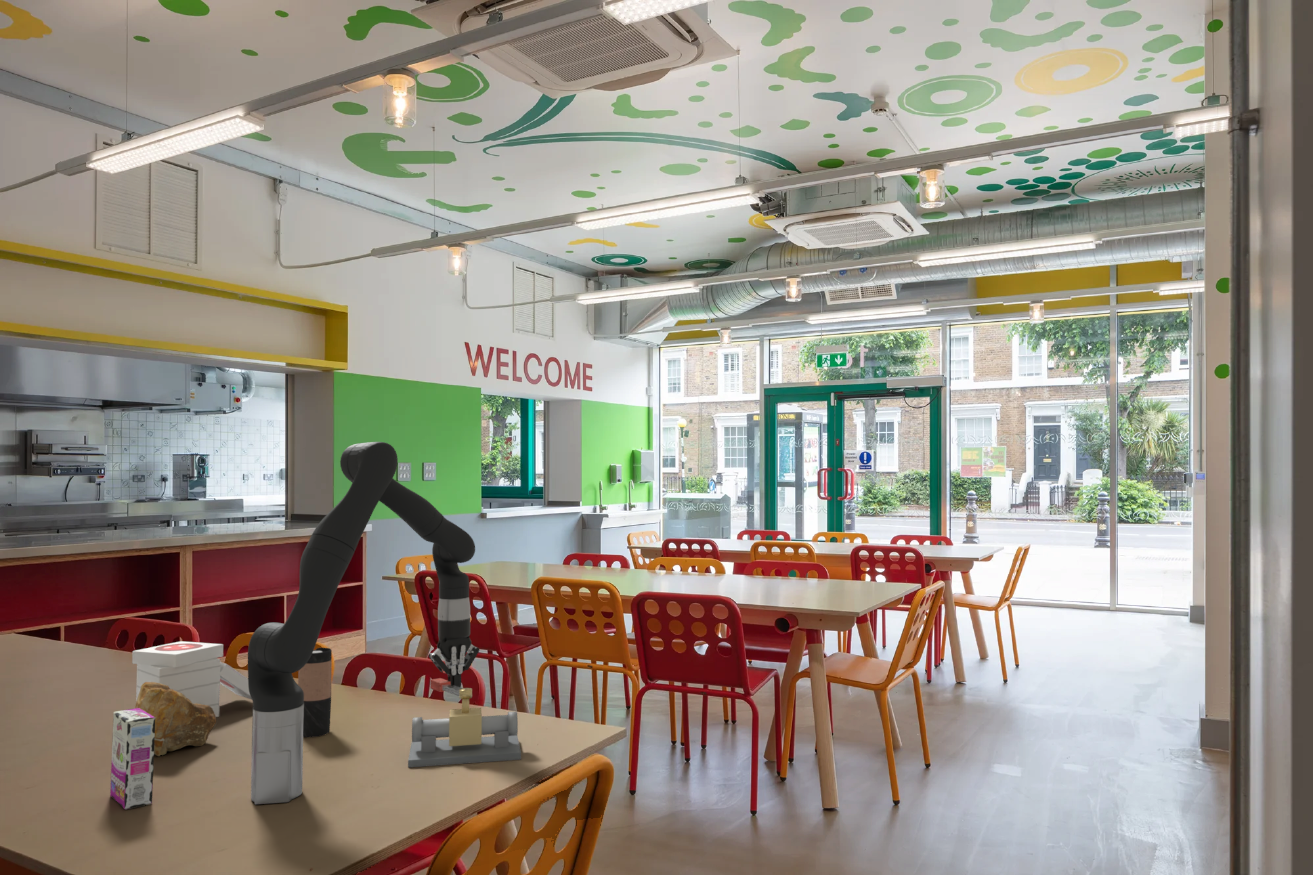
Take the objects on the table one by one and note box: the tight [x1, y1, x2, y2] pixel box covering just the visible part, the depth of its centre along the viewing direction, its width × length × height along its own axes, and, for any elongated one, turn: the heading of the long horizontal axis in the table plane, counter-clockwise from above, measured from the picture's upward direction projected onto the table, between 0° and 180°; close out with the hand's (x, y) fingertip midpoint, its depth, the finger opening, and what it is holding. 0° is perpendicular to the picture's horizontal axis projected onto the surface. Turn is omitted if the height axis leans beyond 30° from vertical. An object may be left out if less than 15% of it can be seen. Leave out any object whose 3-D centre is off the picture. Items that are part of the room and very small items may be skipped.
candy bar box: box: [109, 707, 155, 811], centre depth 170 cm, size 11×5×16 cm, turn 45°
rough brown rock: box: [134, 682, 217, 757], centre depth 204 cm, size 23×17×15 cm
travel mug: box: [297, 647, 333, 738], centre depth 215 cm, size 8×8×20 cm
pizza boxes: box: [131, 640, 252, 718], centre depth 234 cm, size 19×30×18 cm, turn 140°
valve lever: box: [429, 677, 473, 700], centre depth 203 cm, size 16×3×2 cm, turn 41°
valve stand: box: [407, 698, 522, 768], centre depth 198 cm, size 14×24×12 cm, turn 102°
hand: (454, 689), depth 209 cm, fingers closed
